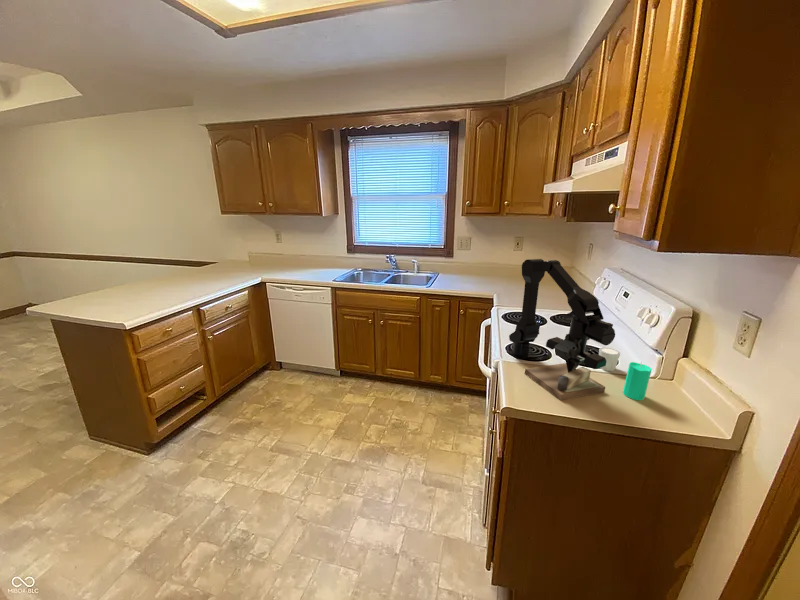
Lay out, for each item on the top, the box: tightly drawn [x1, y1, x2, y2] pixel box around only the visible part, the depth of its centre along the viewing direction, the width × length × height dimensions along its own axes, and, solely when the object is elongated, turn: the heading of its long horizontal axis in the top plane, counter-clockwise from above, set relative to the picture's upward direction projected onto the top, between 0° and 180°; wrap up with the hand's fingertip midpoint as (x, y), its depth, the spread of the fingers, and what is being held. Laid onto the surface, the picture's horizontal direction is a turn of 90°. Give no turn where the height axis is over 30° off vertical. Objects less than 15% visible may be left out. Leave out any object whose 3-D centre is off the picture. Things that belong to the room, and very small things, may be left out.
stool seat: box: [524, 362, 606, 401], centre depth 121 cm, size 18×18×2 cm
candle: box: [622, 361, 652, 401], centre depth 113 cm, size 6×6×12 cm
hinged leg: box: [557, 366, 592, 390], centre depth 116 cm, size 15×3×4 cm, turn 124°
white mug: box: [598, 347, 621, 372], centre depth 132 cm, size 7×7×7 cm
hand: (569, 374), depth 120 cm, fingers closed
